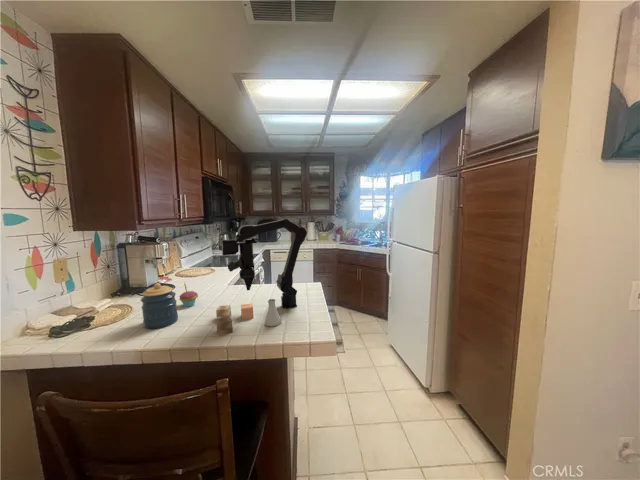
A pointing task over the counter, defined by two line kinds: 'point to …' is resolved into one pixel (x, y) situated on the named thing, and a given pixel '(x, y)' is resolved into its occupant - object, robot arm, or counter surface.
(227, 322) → the walnut block
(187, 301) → the cupcake
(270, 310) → the flask
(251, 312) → the terracotta block
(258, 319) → the counter surface
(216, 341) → the counter surface
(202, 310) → the counter surface
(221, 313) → the maple block
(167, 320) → the canister
